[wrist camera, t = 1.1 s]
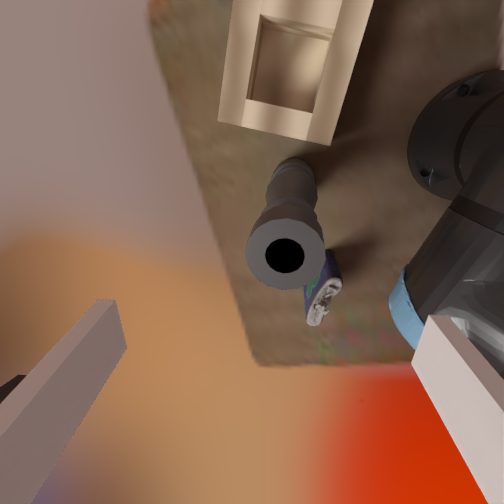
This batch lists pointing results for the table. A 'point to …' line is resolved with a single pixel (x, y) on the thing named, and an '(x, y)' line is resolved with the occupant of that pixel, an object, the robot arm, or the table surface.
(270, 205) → the candle holder
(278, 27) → the socket block
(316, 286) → the flask
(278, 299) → the table surface
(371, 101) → the table surface
